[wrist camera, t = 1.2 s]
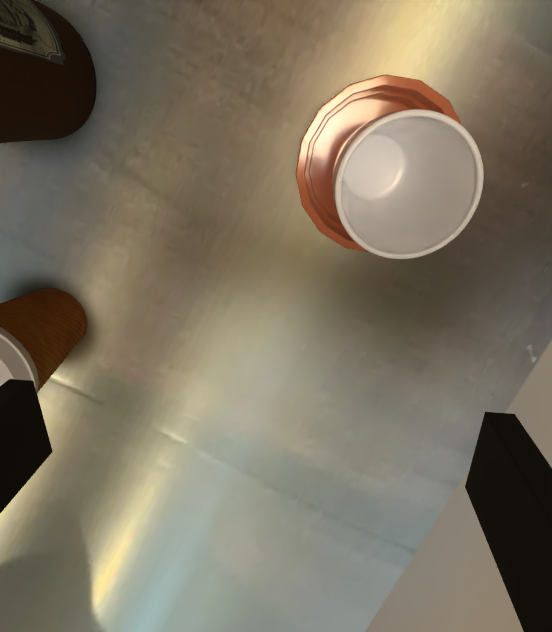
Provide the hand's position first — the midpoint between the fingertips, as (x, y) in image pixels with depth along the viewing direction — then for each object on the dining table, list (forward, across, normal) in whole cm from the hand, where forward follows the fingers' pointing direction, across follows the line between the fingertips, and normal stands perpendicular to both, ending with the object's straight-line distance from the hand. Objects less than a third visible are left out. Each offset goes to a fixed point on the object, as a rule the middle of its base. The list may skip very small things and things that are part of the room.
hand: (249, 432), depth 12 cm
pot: (+26, -6, -6) cm, 27 cm away
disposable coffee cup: (+26, +24, +9) cm, 37 cm away
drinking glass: (+26, -6, -6) cm, 27 cm away
